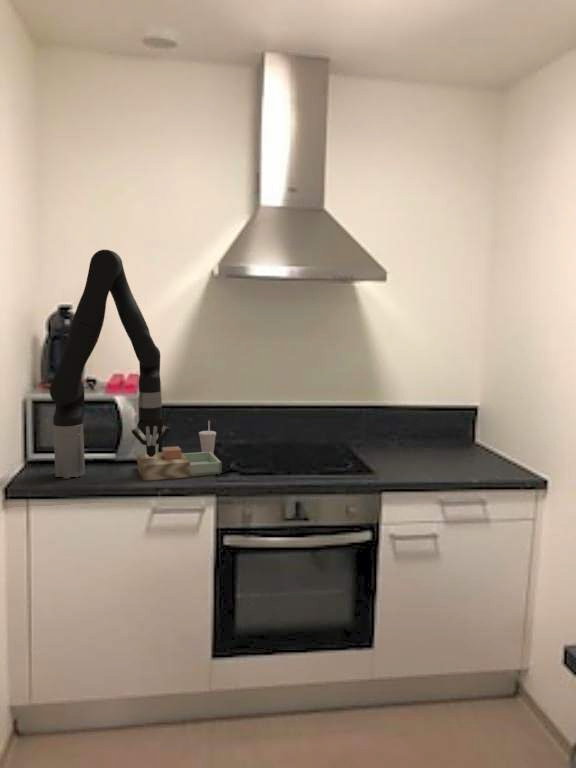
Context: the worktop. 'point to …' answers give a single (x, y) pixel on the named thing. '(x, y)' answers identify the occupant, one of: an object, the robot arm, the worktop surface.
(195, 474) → the box
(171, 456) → the orange brown lump
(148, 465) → the chevron patterned box
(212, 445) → the smoothie
